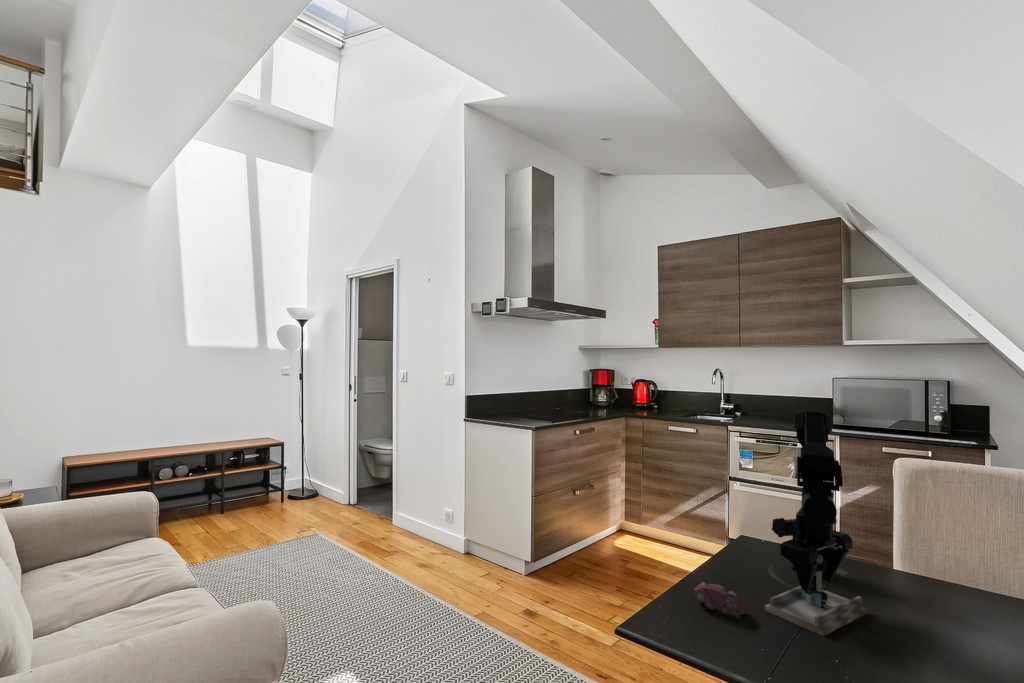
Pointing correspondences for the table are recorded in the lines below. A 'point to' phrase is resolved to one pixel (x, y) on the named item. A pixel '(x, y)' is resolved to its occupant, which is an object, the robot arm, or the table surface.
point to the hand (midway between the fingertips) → (816, 585)
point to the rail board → (816, 611)
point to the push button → (817, 586)
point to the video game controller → (719, 598)
